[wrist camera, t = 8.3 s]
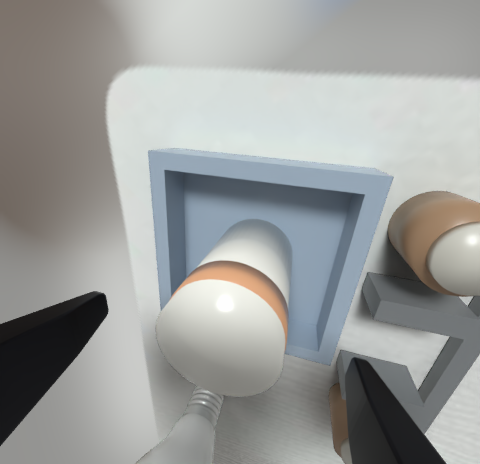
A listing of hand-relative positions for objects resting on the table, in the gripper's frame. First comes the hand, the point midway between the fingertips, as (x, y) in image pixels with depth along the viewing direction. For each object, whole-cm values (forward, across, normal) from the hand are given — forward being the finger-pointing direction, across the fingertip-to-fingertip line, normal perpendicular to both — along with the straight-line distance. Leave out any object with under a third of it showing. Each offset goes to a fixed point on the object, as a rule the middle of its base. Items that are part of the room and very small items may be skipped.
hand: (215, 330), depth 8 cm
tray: (+7, 0, 0) cm, 7 cm away
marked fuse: (+6, 0, 0) cm, 6 cm away
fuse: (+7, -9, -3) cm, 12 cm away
